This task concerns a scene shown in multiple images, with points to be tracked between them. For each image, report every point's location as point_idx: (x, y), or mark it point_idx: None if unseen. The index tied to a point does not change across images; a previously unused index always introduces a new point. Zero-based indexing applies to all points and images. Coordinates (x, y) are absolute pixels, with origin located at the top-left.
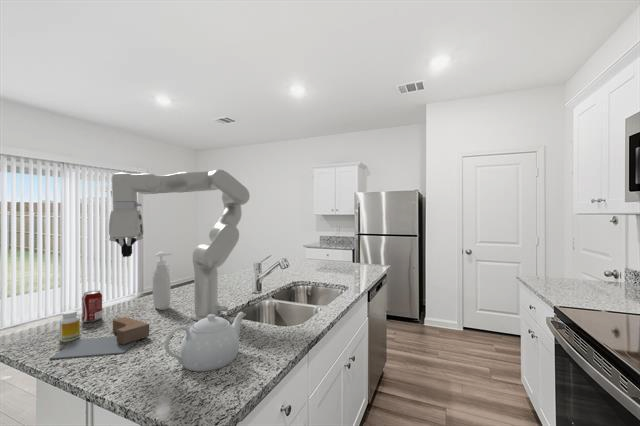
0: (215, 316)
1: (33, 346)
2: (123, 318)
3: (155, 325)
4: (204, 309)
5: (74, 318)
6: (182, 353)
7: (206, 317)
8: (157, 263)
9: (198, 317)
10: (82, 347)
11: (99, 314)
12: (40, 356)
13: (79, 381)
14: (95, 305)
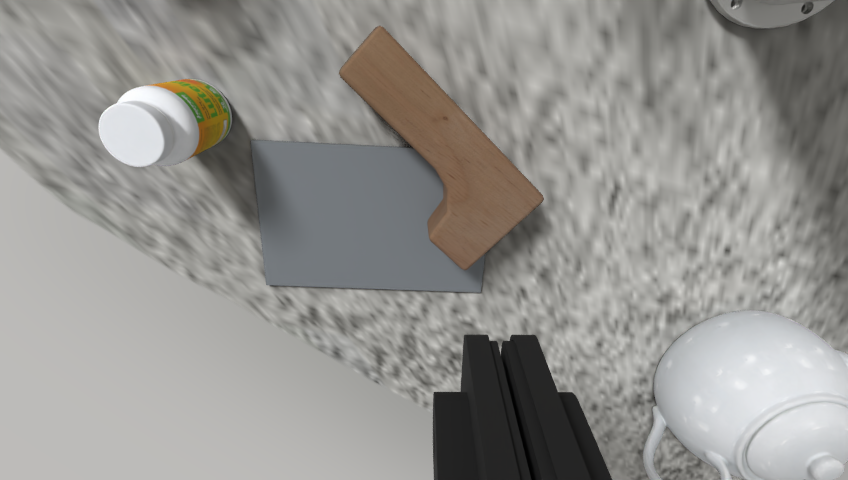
0: (829, 3)
1: (109, 162)
2: (387, 67)
3: (524, 29)
4: (809, 1)
5: (182, 144)
6: (674, 434)
7: (782, 19)
8: None
9: (743, 6)
10: (320, 227)
11: None
12: (216, 254)
13: (429, 402)
14: None
